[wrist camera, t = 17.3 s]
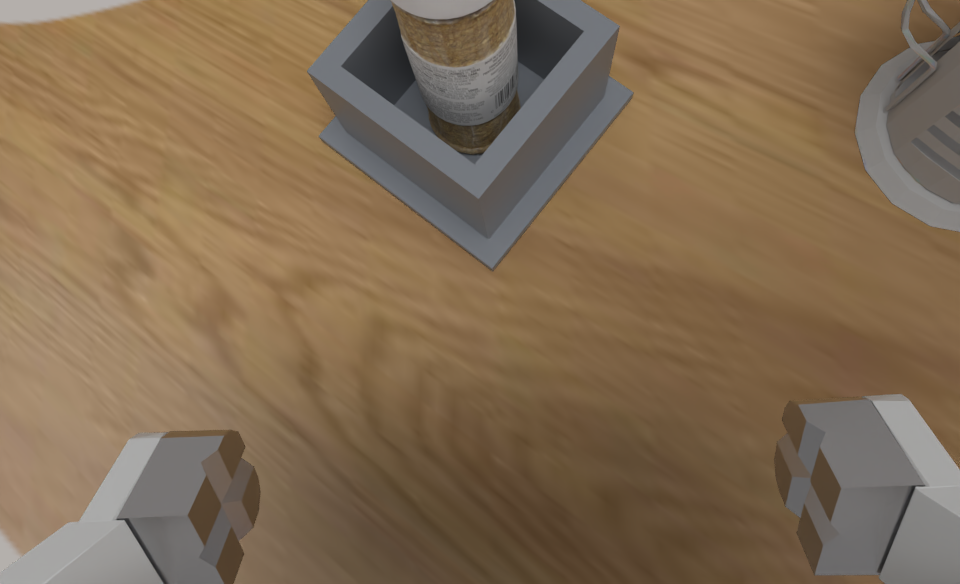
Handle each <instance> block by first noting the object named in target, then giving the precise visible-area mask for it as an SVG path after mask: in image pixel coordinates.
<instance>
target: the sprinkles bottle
mask: <svg viewBox="0 0 960 584" xmlns="http://www.w3.org/2000/svg"><path fill="white" fill-rule="evenodd" d="M390 1H391V2H392V5H393V8H394V10H395V13H396V17H397V20H398V24H399V27H400V30H401V38H402V41H403V44H404V47H405V49H406V52H407V55H408V58H409V61H410V64H411V67H412V70H413V73H414V75H415V78H416V81H417V84H418V87H419V90H420V93H421V96H422V98H423V100H424V102H425V103H426V106H427V108H428V115H429V121H430V124H431V127H432V129H433V131H434V132H435V134H436V135H437V137H438V138H439V139H441V140H442V141H443V142H445V143H446V144H448V145H449V146H450V147H452V148H453V149H454V150H456V151H458V152H461V153H466V154H472V155H474V154H480V153H484V152H485V151H486V150H487V149H488V147H489V146H490V145H491V144H492V143H493V141H494V140H495V139H496V138H497V137H498V135H499V134H500V133H501V132H502V130H503V129H504V128H505V127H506V126H507V124H508V123H509V122H510V121H511V120H512V118H513V117H514V116H515V115H516V113H517V112H518V111H519V110H520V108H521V107H520V100H519V96H518V92H517V86H518V54H517V27H516V8H515V1H514V0H390Z"/></svg>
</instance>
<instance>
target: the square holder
mask: <svg viewBox="0 0 960 584" xmlns="http://www.w3.org/2000/svg"><path fill="white" fill-rule="evenodd" d="M514 1H515V8H516V27H517V54H518V86H517V92H518V96H519V100H520V107H521V108H520V110H519V111H518V112H517V113H516V115H515V116H514V117H513V118H512V120H511V121H510V122H509V123H508V124H507V126H506V127H505V128H504V129H503V130H502V132H501V133H500V134H499V135H498V137H497V138H496V139H495V140H494V141H493V143H492V144H491V145H490V146H489V147H488V149H487V150H486V151H485V152H484V153H480V154H474V155H472V154H466V153H461V152H458V151H456V150H454V149H453V148H452V147H450V146H449V145H448V144H446V143H445V142H443V141H442V140H441V139H439V138H438V137H437V135H436V134H435V132H434V131H433V129H432V127H431V124H430V121H429V115H428V108H427V106H426V103H425V102H424V100H423V98H422V96H421V93H420V90H419V87H418V84H417V81H416V78H415V75H414V73H413V70H412V67H411V64H410V61H409V58H408V55H407V52H406V49H405V47H404V44H403V41H402V38H401V30H400V27H399V24H398V20H397V17H396V13H395V10H394V8H393V5H392V2H391V1H390V0H368V1H367V2H366V4H365V5H364V6H363V7H362V8H361V9H360V11H359V12H358V13H357V14H356V15H355V16H354V17H353V19H352V20H351V21H350V22H349V23H348V24H347V25H346V27H345V28H344V29H343V30H342V31H341V32H340V34H339V35H338V36H337V37H336V38H335V39H334V40H333V42H332V43H331V44H330V45H329V46H328V47H327V48H326V50H325V51H324V52H323V53H322V54H321V55H320V56H319V58H318V59H317V60H316V61H315V62H314V63H313V65H312V66H311V67H310V68H309V69H308V70H307V72H308V74H309V75H310V77H311V78H312V80H313V81H314V83H315V85H316V86H317V88H318V89H319V91H320V92H321V94H322V95H323V97H324V98H325V100H326V102H327V103H328V105H329V106H330V108H331V109H332V111H333V112H334V114H335V115H336V116H335V118H334V119H333V120H332V121H331V122H330V123H329V125H328V126H327V127H326V128H325V129H324V130H323V132H322V133H321V134H320V135H319V137H320V139H321V140H322V141H323V142H324V143H325V144H327V145H328V146H329V147H331V148H332V149H333V150H335V151H336V152H337V153H338V154H340V155H341V156H342V157H344V158H345V159H346V160H348V161H349V162H350V163H352V164H353V165H354V166H355V167H357V168H358V169H359V170H361V171H362V172H363V173H365V174H366V175H367V176H369V177H370V178H371V179H373V180H374V181H375V182H376V183H378V184H379V185H380V186H382V187H383V188H384V189H386V190H387V191H388V192H390V193H391V194H392V195H393V196H395V197H396V198H397V199H399V200H400V201H401V202H403V203H404V204H405V205H407V206H408V207H409V208H410V209H412V210H413V211H414V212H416V213H417V214H418V215H420V216H421V217H422V218H424V219H425V220H426V221H427V222H429V223H430V224H431V225H433V226H434V227H435V228H437V229H438V230H439V231H441V232H442V233H443V234H444V235H446V236H447V237H448V238H450V239H451V240H452V241H454V242H455V243H456V244H458V245H459V246H460V247H461V248H463V249H464V250H465V251H467V252H468V253H469V254H471V255H472V256H473V257H475V258H476V259H477V260H479V261H480V262H481V263H482V264H484V265H485V266H486V267H488V268H489V269H490V270H492V271H494V269H495V268H496V267H497V266H498V264H499V263H500V262H501V261H502V259H503V258H504V257H505V256H506V254H507V253H508V252H509V251H510V249H511V248H512V247H513V246H514V244H515V243H516V242H517V241H518V240H519V238H520V237H521V236H522V235H523V233H524V232H525V231H526V230H527V228H528V227H529V226H530V225H531V223H532V222H533V221H534V220H535V218H536V217H537V216H538V215H539V213H540V212H541V211H542V210H543V208H544V207H545V206H546V205H547V203H548V202H549V201H550V200H551V198H552V197H553V196H554V195H555V193H556V192H557V191H558V190H559V188H560V187H561V186H562V185H563V183H564V182H565V181H566V180H567V179H568V177H569V176H570V175H571V174H572V172H573V171H574V170H575V169H576V167H577V166H578V165H579V164H580V162H581V161H582V160H583V159H584V157H585V156H586V155H587V154H588V152H589V151H590V150H591V149H592V147H593V146H594V145H595V144H596V142H597V141H598V140H599V139H600V137H601V136H602V135H603V134H604V132H605V131H606V130H607V129H608V127H609V126H610V125H611V124H612V122H613V121H614V120H615V119H616V118H617V116H618V115H619V114H620V113H621V111H622V110H623V109H624V108H625V106H626V105H627V104H628V103H629V101H630V100H631V99H632V96H633V93H634V92H632V91H631V90H629V89H628V88H626V87H625V86H623V85H622V84H620V83H619V82H617V81H616V80H614V79H613V78H611V77H610V76H609V73H610V68H611V64H612V59H613V55H614V50H615V45H616V41H617V36H618V32H619V27H620V26H619V25H617V24H616V23H614V22H613V21H611V20H610V19H608V18H607V17H605V16H604V15H602V14H601V13H599V12H597V11H596V10H594V9H593V8H591V7H590V6H588V5H587V4H585V3H584V2H582V1H581V0H514Z"/></svg>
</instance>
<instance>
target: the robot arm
mask: <svg viewBox="0 0 960 584" xmlns="http://www.w3.org/2000/svg"><path fill="white" fill-rule="evenodd" d="M782 422H783V424H784V426H785V428H786V430H787V434H786V435H785V436H784V437H782V438H781V439H780V440H779V441H778V442H777V446H776V452H775V458H774V461H775V476H776V480H777V484H778V488H779V492H780V494H781V497H782V499H783V502H784V504H785V507H787V508H788V509H789V510H791V511H792V512H793V513H795V514H796V515H797V516H798V517H800V521H799V525H798V529H797V536H798V538H799V540H800V543H801V545H802V547H803V550H804V552H805V554H806V557H807V559H808V561H809V564H810V566H811V568H812V571H813V573H814V575H880V576H879V579H880V580H882V581H883V582H884V583H885V584H960V469H959V468H958V466H957V465H956V464H955V462H954V461H953V460H952V458H951V457H950V455H949V454H948V453H947V451H946V450H945V449H944V447H943V446H942V444H941V443H940V442H939V440H938V439H937V437H936V436H935V435H934V433H933V432H932V431H931V429H930V428H929V426H928V425H927V424H926V422H925V421H924V420H923V418H922V417H921V415H920V414H919V413H918V411H917V410H916V408H915V407H914V406H913V404H912V403H911V402H910V400H909V399H908V398H906V397H905V396H903V395H902V394H891V395H875V396H863V397H843V398H826V399H810V400H793V401H789V402H788V404H787V405H786V407H785V409H784V413H783V417H782ZM244 449H245V444H244V442H243V440H242V438H241V436H240V434H239V432H238V431H233V430H206V431H170V432H154V433H138V434H136V435H135V436H133V437H132V438H130V439H129V440H128V442H127V443H126V445H125V447H124V448H123V450H122V451H121V453H120V455H119V456H118V458H117V460H116V461H115V463H114V465H113V466H112V468H111V469H110V471H109V473H108V474H107V476H106V478H105V479H104V481H103V483H102V484H101V486H100V487H99V489H98V491H97V492H96V494H95V496H94V497H93V499H92V501H91V502H90V504H89V505H88V507H87V509H86V510H85V512H84V514H83V515H82V517H81V519H80V520H79V522H68V523H67V524H66V525H64V526H63V527H62V528H60V529H59V530H58V531H56V532H55V533H53V534H52V535H51V536H49V537H48V538H47V539H45V540H44V541H43V542H41V543H40V544H38V545H37V546H36V547H34V548H33V549H32V550H30V551H29V552H27V553H26V554H25V555H23V556H22V557H21V558H19V559H18V560H17V561H15V562H14V563H12V564H11V565H10V566H8V567H7V568H6V569H4V570H3V571H2V572H0V584H233V583H234V581H235V578H236V575H237V572H238V570H239V567H240V564H241V561H242V558H243V556H244V552H243V550H242V548H241V545H240V543H239V540H240V539H242V538H243V537H244V536H245V535H246V534H247V533H248V532H249V531H250V530H251V529H252V528H253V527H254V524H255V521H256V518H257V515H258V512H259V503H260V485H259V479H258V476H257V473H256V471H255V468H254V466H252V465H251V464H249V463H248V462H246V461H245V460H244V459H242V458H241V457H242V454H243V452H244Z"/></svg>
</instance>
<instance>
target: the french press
mask: <svg viewBox="0 0 960 584" xmlns="http://www.w3.org/2000/svg"><path fill="white" fill-rule="evenodd" d="M914 1H915V0H907V2H906V4H905V7H904V9H903V11H902V20H901V30H902V32H903V34H904V36H905V38H906V40H907V42H908V44H909V46H910V48H908V49H907V50H905V51H903V52H902V53H900V54H898V55H897V56H895V57H894V58H892V59H890V60H889V61H887V62H886V63H884V64H882V65H881V66H880V68H879V69H878V71H877V72H876V74H875V75H874V77H873V78H872V80H871V81H870V83H869V84H868V86H867V87H866V88H865V90H864V91H863V93H862V94H861V96H860V102H859V109H858V115H857V122H856V128H855V135H856V139H857V142H858V146H859V149H860V153H861V156H862V160H863V163H864V167H865V170H866V171H867V173H868V174H869V175H870V177H871V178H872V179H873V180H874V182H875V183H876V184H877V185H878V187H879V188H880V189H881V190H882V192H883V193H884V194H885V195H886V197H887V198H888V199H889V200H890V202H891V203H892V204H894V205H896V206H897V207H899V208H901V209H902V210H904V211H906V212H907V213H909V214H911V215H912V216H914V217H916V218H917V219H919V220H921V221H922V222H924V223H926V224H927V225H929V226H932V227H938V228H943V229H948V230H953V231H958V232H960V35H959V36H957V37H953V36H954V35H955V34H956V33H959V32H960V22H959V23H958V24H957V25H956V26H955V27H954V28H952V29H951V30H950V28H949V27H948V26H947V25H946V24H945V23H944V22H943V20H942V19H941V18H940V17H939V16H938V15H937V14H936V13H935V12H934V11H933V9H932V8H931V7H930V6H929V4H928V2H927V0H917V1H918V3H919V5H920V7H921V9H922V11H923V12H924V13H925V14H926V15H927V16H928V17H929V18H930V19H931V20H932V21H933V22H934V23H936V24H937V25H938V26H939V27H940V28H941V29H942V31H943V34H942V35H941V36H940V37H939V38H938V39H937V40H936V41H931V42H926V43H920V44H918V43H916V41H915V40H914V38H913V36H912V34H911V32H910V31H909V29H908V27H909V17H910V12H911V9H912V7H913V4H914ZM952 37H953V38H952Z"/></svg>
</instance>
